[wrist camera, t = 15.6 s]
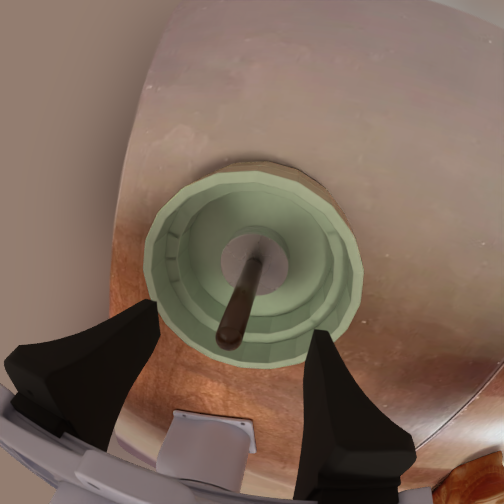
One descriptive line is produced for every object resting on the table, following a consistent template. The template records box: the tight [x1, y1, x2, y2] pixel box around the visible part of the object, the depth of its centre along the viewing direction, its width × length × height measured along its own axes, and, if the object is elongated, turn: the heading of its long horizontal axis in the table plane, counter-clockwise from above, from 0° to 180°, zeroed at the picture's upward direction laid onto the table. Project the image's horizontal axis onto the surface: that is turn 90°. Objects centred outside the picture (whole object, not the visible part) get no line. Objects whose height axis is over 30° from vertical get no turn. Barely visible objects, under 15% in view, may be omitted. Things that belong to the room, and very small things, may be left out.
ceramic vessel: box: [432, 451, 504, 504], centre depth 27 cm, size 14×26×15 cm, turn 8°
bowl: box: [143, 161, 364, 369], centre depth 19 cm, size 13×13×5 cm
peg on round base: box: [215, 225, 290, 351], centre depth 16 cm, size 4×4×9 cm
